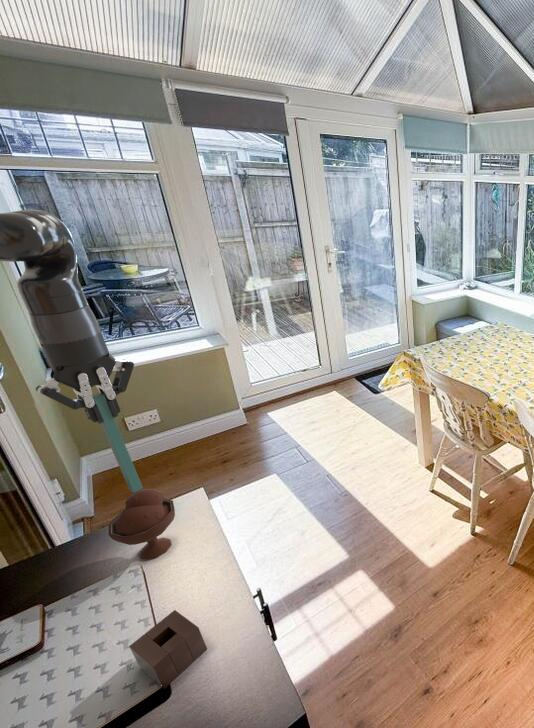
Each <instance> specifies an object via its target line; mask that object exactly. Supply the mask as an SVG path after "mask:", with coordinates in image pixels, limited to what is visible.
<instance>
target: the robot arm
mask: <svg viewBox="0 0 534 728" xmlns="http://www.w3.org/2000/svg"><path fill="white" fill-rule="evenodd" d="M0 262H6V263H7V262H8V263H10V262H13V263H14V262H16V263H17V262H23V266H24V272H23V273H22V275H21V276H20V277H19V278H18V279H17V281H16V288H17V291H18V293H19V296H20V297H21V300H22V302H23V304H24V306H25V309H26V311H27V313H28V315H29V318H30V324H31V327H32V330H33V331H34V334H35V336H36V338H37V341H38V342H39V344H40V346H41V349H42V351H43V354H44V355H45V358H46V359H47V362H48V364H49V366H50V369H51V370H50V379H48V381H46V382H45V383H44V384H40V385H37V386H36V387H35V391H36V392H38V393H39V394H41V395H43V396H45V397H47V398H50V399H51V400H53V401H55V402H58V403H59V404H62V405H64V406H66V407H68V408H70V409H72V410H79V409H82V410H83V411H84V413H85V415H86V417H87V420H89V421H90V422H92V423H96V424H98V425H101V423H103V422H104V420H103V417H102V415H101V413H100V410H99V408H98V406H97V405H95V403H94V400H93V397H92V396H93V395H94V394H93V393H94V392H93V391H92V388H93V387H96V389H97V390H98V392H99V393H101V394H103V395H105V398H106V400H107V403H108V405H109V408H110V410H111V412H112V415H113V417H114V419H116V418H118V417H119V413H121V408H120V405H119V403H118V400H117V396H118V395H120V394H121V393H122V394H123V393H125V392H126V391H127V388H128V385H129V382H130V379H131V376H132V373H133V370H134V366H135V363H134V362H133V361H130V360H129V359H125V358H124V359H116V358H115V357H114V356H112V355H111V354H110V351H109V348H108V346H107V343H106V341H105V338H104V336H103V333H102V330H101V328H100V327H101V326H100V323H99V321H97V318H96V315H95V314H94V312H93V310H92V309H91V307H90V305H89V302H88V300H87V298H86V295H85V292H84V290H83V288H82V285H81V283H80V280H79V273H78V259H77V252H76V246H75V242H74V238H73V236H72V234H71V232H70V230H69V229H68V227H67V226H66V225H65V223H64V222H63V221H62V220H61V219H60V218H58V217H57V216H55V215H54V214H52V213H51V212H48V211H45V210H41V209H31V208H30V209H22V210H15V211H9V212H0ZM114 370H115V371H116V372H115V374H114V377H113V380H112V383H111V380H110V378H111V375H112V373H113V371H114ZM59 384H62V385H64V386H66V387H69V388H72V390H73V393H74V394H75V395H76V398H77V399H72V398H69V397H68V396H66V395H64V394H62V393H61V391H62V389H61V387H60V386H59Z"/></svg>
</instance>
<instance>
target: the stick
mask: <svg viewBox="0 0 534 728" xmlns="http://www.w3.org/2000/svg"><path fill="white" fill-rule="evenodd" d="M92 397H93V400H94V403H95V405H97V406H98V408H99V410H100V413H101V415H102V417H103V420H104V422H103V423H100V426H101V428H102V430H103V433H104V434H105V438H106V440H107V441H108V444H109V446H110V448H111V451H112V453H113V456H114V458H115V460H116V462H117V465H118V467H119V469H120V471H121V474H122V477H123V479H124V481H125V483H126V485H127V488H128V490H129V491H130V492H132V493H135V492H136V491H139V490H142V489H144V487H143V484H142V482H141V479H140V477H139V475H138V473H137V470H136V467H135V465H134V462H133V461H132V458H131V455H130V453H129V451H128V448H127V445H126V444H125V442H124V439H123V436H122V434H121V431H120V429H119V427H118V424H117V422H116V418H114V417H113V415H112V412H111V410H110V408H109V405H108V403H107V400H106V398H105V395H103V394H101V393H100V392H99V393H96V394H92Z"/></svg>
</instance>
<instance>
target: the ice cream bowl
mask: <svg viewBox="0 0 534 728" xmlns="http://www.w3.org/2000/svg"><path fill="white" fill-rule="evenodd" d="M124 505H125V507H124V508H123V509H122V510H121V512H119V513H118V514H117V515H116V516H115V517H114V518H113V519H112V520H111V521H110V522H109V523H108V533H107V534H108V536H109V538H110V539H112V541H115V542H117V543H121V544H125V545H128V546H136V545H140V544H144V543H146V544H145V545H144V546H143V547H142V548H141V549H140V551H139V555H140V559H141V560H144V561H145V560H146V561H149V560H152V559H157V558H159V557H160V556H162V555H164V554H166V553H167V552H168V550H169V549H170V548H171V546H172V540H171V539H170V538H167V537H163V536H162V537H159V536H161V535H162V534H163V533H164V532H165V531H166V530H167V529H168V528H169V526H170V525H171V524H172V522H173V521H174V519H175V516H176V510H175V504H174V500H172V499H168V498H165V495H164V494H163V493H162V492H161V491H160V490H159V489H156V488H142V489H140V490H138V491H136V492H133V493H131V494H130V496H128V497H127V499H126V500H125V502H124ZM158 537H159V538H158Z"/></svg>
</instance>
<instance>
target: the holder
mask: <svg viewBox="0 0 534 728" xmlns="http://www.w3.org/2000/svg"><path fill="white" fill-rule="evenodd" d="M128 647H129V649H130V651H131V653H132V655H133V657H134V658H135V660H136V663H137V664H138V666H139V668H140V669H141V671H143V672H144V673H145V674H146V675H147V676H148V677H150V678H151V679H152V680H153V681H154V682H155V683H157V684H158V685H159V686H160V687H161V688H162V689H163V690H164V689H166V688H167V687H168V686H169V685H170V684H171V683H172V682H173V681H175V680H176V679H177V678H178V677H179V676H180V675H181V674H182V673H184V671H186V669H187V668H189V667H190V666H191V665H192V664H193V663H194V662H195V661H196V660H197V659H199V657H200V656H202V655H203V654H204V653H205V652H206V651H207V650H208V647H207V645H206V642H205V640H204V637H203V635H202V632H201V630H200V627H199V626H197V625H196V624H195V623H193V621H190V619H188V618H187V617H185V616H184V615H182V614H181V613H180V612H178V611H177V610H176V609H174V610H173V611H171V612H170V613H169V614H167V615H166V616H165V617H163V619H161V620H160V621H159V622H158V623H156V624H155V625H154V626H152V627H151V628H150V629H149V630H148V631H146V632H145V633H144V634H142V635H141V636H140V637H139V638H138V639H136V640H135V641H133V642H132V643H131V644H130V645H129V646H128ZM161 685H162V686H161Z"/></svg>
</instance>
